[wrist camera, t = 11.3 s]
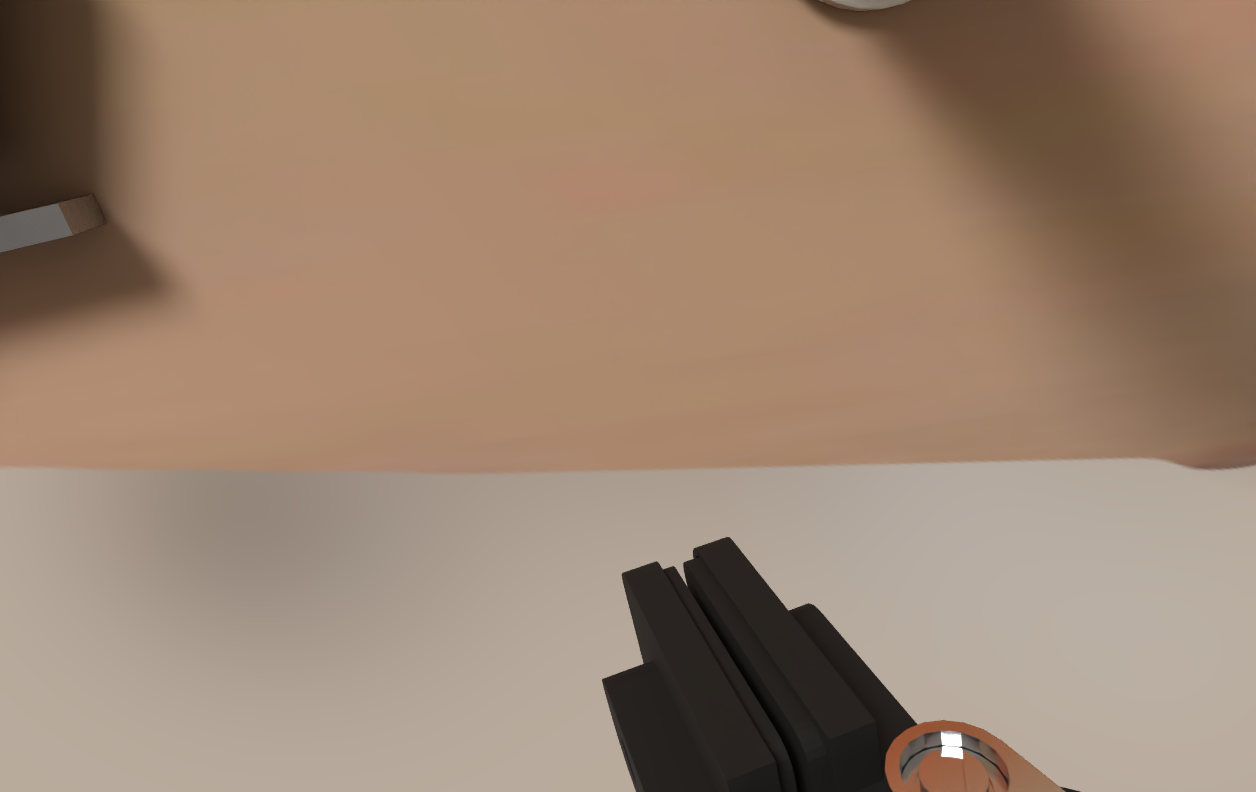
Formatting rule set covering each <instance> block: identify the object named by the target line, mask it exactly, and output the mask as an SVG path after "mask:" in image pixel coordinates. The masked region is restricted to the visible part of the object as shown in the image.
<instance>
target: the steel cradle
mask: <svg viewBox="0 0 1256 792" xmlns="http://www.w3.org/2000/svg"><path fill="white" fill-rule="evenodd" d="M105 223H106V221H105V219H104V216H103V214H102V212H101V210H100V208H99V206H98V203H97V201H96V199H95V197H94V195H88V196H84V197H80V198H75V199H71V200H66V201H62V202H58V203H53V204H49V205H45V206H40V207H36V208H32V209H27V210H23V211H18V212H14V213H10V214H5V215H1V216H0V252H4V251H9V250H13V249H17V248H21V247H26V246H30V245H34V244H38V243H42V242H47V241H51V240H55V239H59V238H64V237H68V236H72V235H75V234H78V233H81V232H83V231H86V230H89V229H91V228H94V227H97V226H100V225H102V224H105Z"/></svg>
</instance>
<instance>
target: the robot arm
mask: <svg viewBox="0 0 1256 792" xmlns="http://www.w3.org/2000/svg"><path fill="white" fill-rule="evenodd" d="M818 1H821V2H824V3H826V4H829V5H832V6H834V7H837V8H840V9H848V10H856V11H868V10H877V9H885V8H888V7H892V6H896V5H900V4H904V3H906V2H908V1H910V0H818ZM693 558H694V559H692V560H689V561H686V562H684V564H683V565H684V566H683V567H684V573H685V578H686V582H687V586H686V584H685V582H684V581H683V579H682V578H681V576H680V574H679V573H678V571H677V569H676V568H675V567H674V566H673V567H669V568H666V569H662V568H661V566H660V564H659V563H658V562H654V563H650V564H647V565H644V566H641V567H639V568H636V569H633V570H630V571H627V572H624V573H622V579H623V584H624V588H625V592H626V596H627V600H628V604H629V608H630V611H631V615H632V619H633V623H634V627H635V631H636V635H637V639H638V643H639V647H640V651H641V655H642V659H643V663H644V664H642V665H640V666H637V667H634V668H632V669H629V670H626V671H623V672H620V673H618V674H615V675H612V676H610V677H607V678H604V679H602V682H603V686H604V690H605V694H606V697H607V701H608V704H609V708H610V712H611V715H612V719H613V722H614V726H615V729H616V732H617V736H618V739H619V742H620V745H621V748H622V751H623V754H624V758H625V761H626V764H627V767H628V770H629V773H630V776H631V778H632V781H633V784H634V787H635V790H636V792H1080V791H1076V790H1071V789H1067V788H1063V787H1059V786H1058V785H1056V784H1055V783H1054V782H1053V781H1052V780H1050V779H1049V778H1047V776H1045V775H1044V774H1043V773H1042V772H1040V771H1039V770H1038V769H1036V768H1035V767H1034V766H1033V765H1032V764H1030V763H1029V762H1028V761H1027V760H1025V759H1024V758H1023V757H1022V756H1020V755H1019V754H1018V753H1017V752H1015V751H1014V750H1013V749H1012V748H1010V747H1009V746H1008V745H1007V744H1005V743H1004V742H1003V741H1002V740H1000V739H998V738H997V737H995V736H994V735H992V734H990V733H989V732H987V731H985V730H984V729H981V728H978V727H975V726H972V725H969V724H966V723H963V722H954V721H946V720H941V721H933V722H924V723H921V724H919V725H917V723H915V721H914V720H913V719H912V718H911V716H910V715H909V714H908V713H907V712H906V711H905V709H904V708H903V707H902V706H901V705H900V704H899V702H898V701H897V700H896V699H895V698H894V697H893V695H892V694H891V693H890V692H889V691H888V690H887V689H886V687H885V686H884V685H883V684H882V683H881V681H880V680H879V679H878V678H877V677H876V676H875V674H874V673H873V672H872V671H871V670H870V669H869V667H868V666H867V665H866V664H865V663H864V662H863V660H862V659H861V658H860V657H859V656H858V655H857V654H856V652H855V651H854V650H853V649H852V648H851V647H850V645H849V644H848V643H847V642H846V641H845V640H844V638H843V637H842V636H841V635H840V634H839V632H838V631H837V630H836V629H835V628H834V627H833V625H832V624H831V623H830V622H829V621H828V620H827V619H826V617H825V616H824V615H823V614H822V613H821V612H820V611H819V610H818V609H817V608H816V607H815V606H814V605H812V604H809V603H808V604H806V605H803V606H800V607H797V608H795V609H792V610H789V611H788V610H787V609H786V607H785V606H784V605H783V603H782V602H781V601H780V600H779V598H778V597H777V596H776V595H775V593H774V592H773V591H772V590H771V588H770V587H769V586H768V585H767V583H766V582H765V581H764V579H763V578H762V577H761V576H760V575H759V573H758V572H757V571H756V570H755V568H754V567H753V566H752V564H751V563H750V562H749V561H748V559H747V558H746V557H745V556H744V554H743V553H742V552H741V550H740V549H739V548H738V547H737V546H736V544H735V543H734V542H733V540H732V539H731V538H730V537H726V538H723V539H720V540H717V541H714V542H711V543H708V544H705V545H702V546H699V547H697V548H694V550H693Z"/></svg>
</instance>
